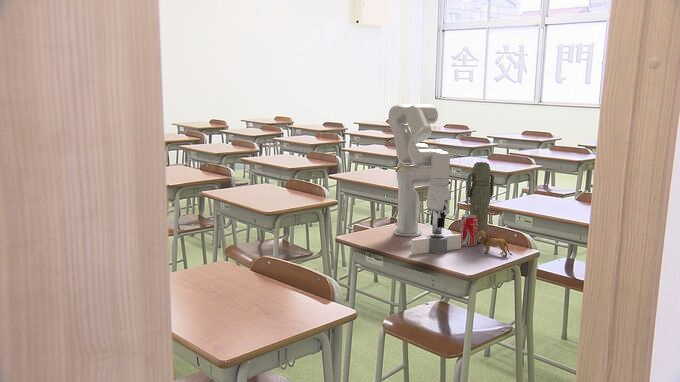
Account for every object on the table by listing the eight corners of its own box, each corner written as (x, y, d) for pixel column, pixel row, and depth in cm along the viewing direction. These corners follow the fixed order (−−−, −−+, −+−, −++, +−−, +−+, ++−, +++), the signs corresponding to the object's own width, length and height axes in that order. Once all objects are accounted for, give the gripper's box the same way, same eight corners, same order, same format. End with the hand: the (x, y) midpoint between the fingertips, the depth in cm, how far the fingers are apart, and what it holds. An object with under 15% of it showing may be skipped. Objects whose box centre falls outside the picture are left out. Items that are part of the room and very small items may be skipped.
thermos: (494, 242, 249) (499, 163, 243) (471, 244, 246) (475, 164, 240) (483, 237, 258) (488, 161, 252) (460, 239, 254) (464, 161, 248)
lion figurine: (474, 252, 233) (475, 231, 232) (478, 249, 238) (479, 228, 236) (511, 258, 226) (512, 236, 225) (513, 254, 231) (515, 233, 230)
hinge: (406, 251, 233) (406, 237, 232) (454, 245, 244) (454, 232, 242) (417, 256, 226) (417, 242, 225) (465, 250, 236) (466, 236, 235)
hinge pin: (430, 232, 234) (431, 209, 233) (438, 231, 236) (439, 208, 234) (435, 235, 231) (436, 210, 229) (443, 234, 233) (445, 210, 231)
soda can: (475, 243, 248) (477, 214, 246) (477, 247, 241) (479, 217, 239) (458, 242, 249) (460, 213, 247) (460, 246, 242) (462, 217, 240)
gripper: (420, 179, 236) (418, 222, 239) (444, 185, 221) (441, 231, 224) (435, 178, 239) (433, 221, 242) (459, 184, 224) (457, 229, 227)
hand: (437, 225), depth 233 cm, fingers closed on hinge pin, 3 cm apart
